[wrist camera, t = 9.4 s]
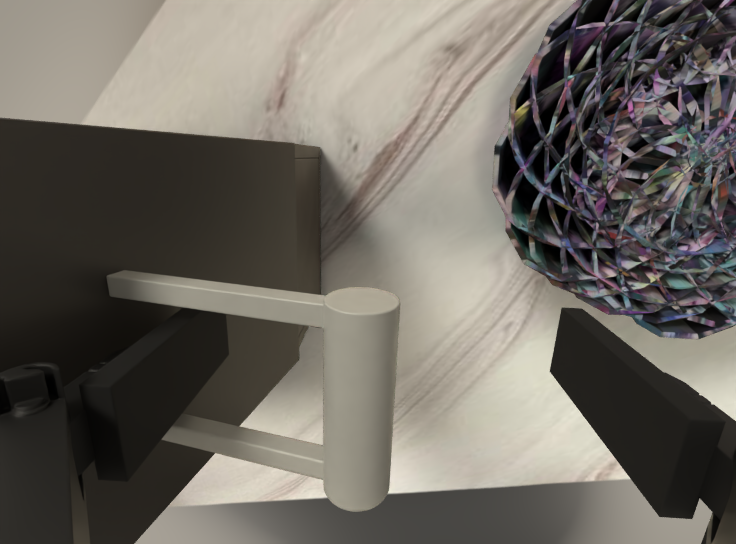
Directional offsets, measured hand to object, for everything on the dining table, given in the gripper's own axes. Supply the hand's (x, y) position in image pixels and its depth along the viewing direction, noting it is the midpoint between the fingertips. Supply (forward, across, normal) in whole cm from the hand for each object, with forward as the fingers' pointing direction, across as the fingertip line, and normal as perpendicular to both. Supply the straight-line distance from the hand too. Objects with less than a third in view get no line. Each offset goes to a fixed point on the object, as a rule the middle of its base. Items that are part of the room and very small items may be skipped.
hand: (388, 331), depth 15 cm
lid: (+2, -8, 0) cm, 9 cm away
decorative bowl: (+22, +21, +7) cm, 31 cm away
